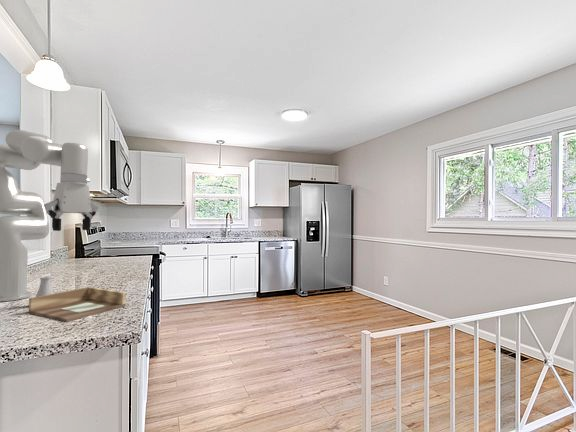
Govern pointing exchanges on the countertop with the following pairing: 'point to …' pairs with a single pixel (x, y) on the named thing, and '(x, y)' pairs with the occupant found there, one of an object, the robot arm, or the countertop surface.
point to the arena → (76, 303)
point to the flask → (45, 287)
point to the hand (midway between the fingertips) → (72, 230)
